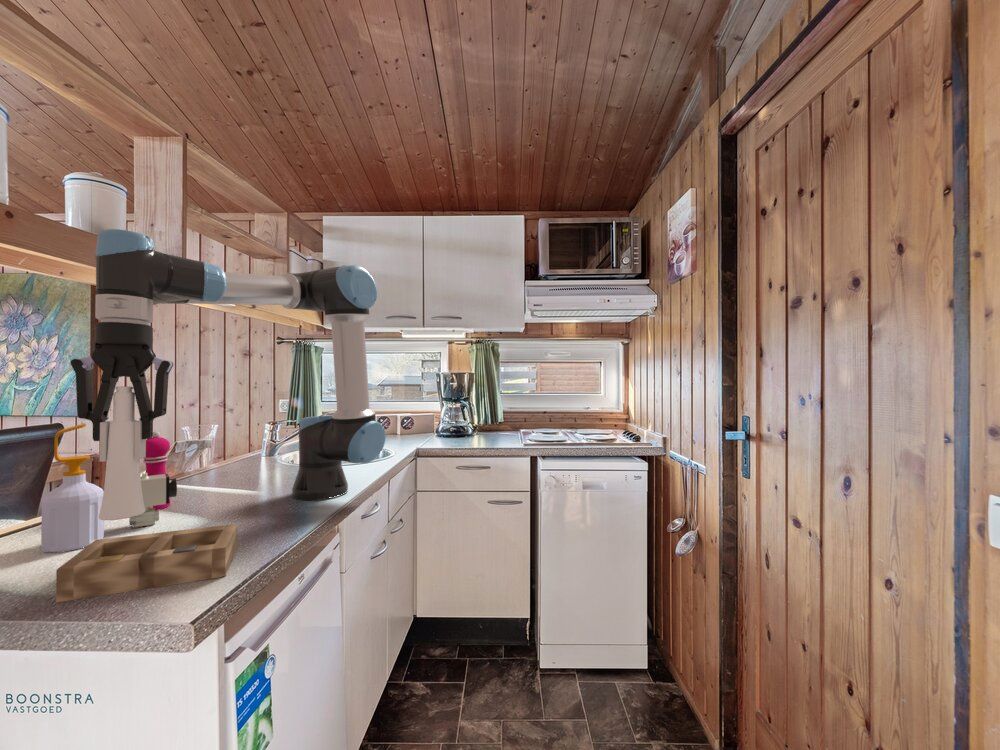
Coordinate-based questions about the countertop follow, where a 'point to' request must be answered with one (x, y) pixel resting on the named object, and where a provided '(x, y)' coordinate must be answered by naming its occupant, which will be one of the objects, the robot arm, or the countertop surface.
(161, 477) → the pneumatic valve
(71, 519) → the soap bottle
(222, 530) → the wooden compartment tray
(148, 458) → the pepper mill
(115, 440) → the cosmetic bottle
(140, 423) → the robot arm
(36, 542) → the countertop surface
